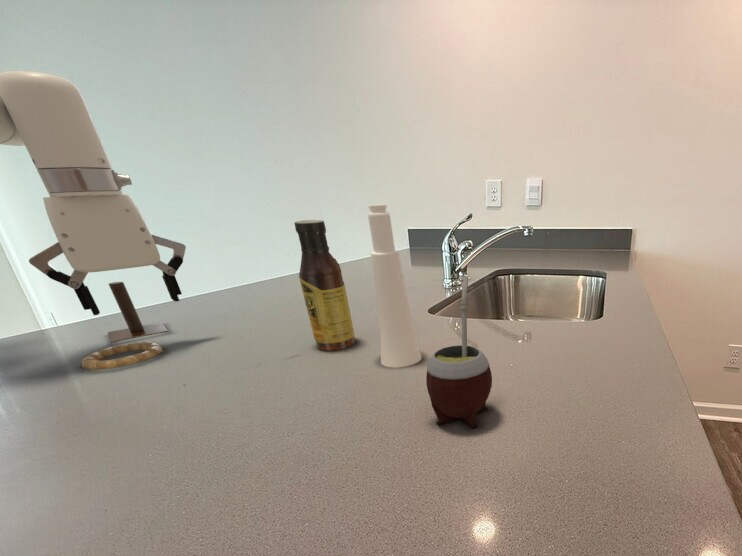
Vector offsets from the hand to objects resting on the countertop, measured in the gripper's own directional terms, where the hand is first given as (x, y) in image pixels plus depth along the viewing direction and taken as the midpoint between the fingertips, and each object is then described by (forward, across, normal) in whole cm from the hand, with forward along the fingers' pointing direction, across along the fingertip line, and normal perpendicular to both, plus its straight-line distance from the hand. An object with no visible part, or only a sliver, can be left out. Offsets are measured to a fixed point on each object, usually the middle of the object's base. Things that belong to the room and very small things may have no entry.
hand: (138, 306), depth 64 cm
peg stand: (+8, +1, -15) cm, 17 cm away
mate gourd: (+9, -22, +53) cm, 58 cm away
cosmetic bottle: (+9, -26, +33) cm, 43 cm away
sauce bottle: (+9, -22, +19) cm, 30 cm away
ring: (+7, +4, 0) cm, 8 cm away
